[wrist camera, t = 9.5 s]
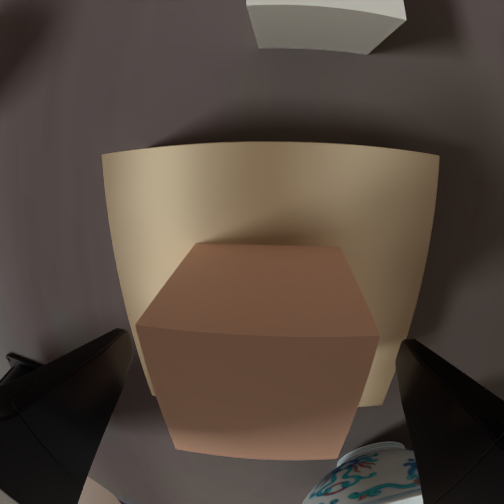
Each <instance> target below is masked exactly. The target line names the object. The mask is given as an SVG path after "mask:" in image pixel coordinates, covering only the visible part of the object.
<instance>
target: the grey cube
mask: <svg viewBox="0 0 504 504" xmlns="http://www.w3.org/2000/svg"><path fill="white" fill-rule="evenodd" d="M246 6H247V9H248V12H249V16H250V19H251V23H252V26H253V30H254V33H255V37H256V41H257V44H258V48H295V49H317V50H330V51H341V52H350V53H358V54H366V55H368V54H369V53H370V52H371V51H372V50H373V49H374V48H375V47H377V46H378V45H379V44H380V43H381V42H382V41H383V40H384V39H386V38H387V37H388V36H389V35H390V34H391V33H392V32H393V31H395V30H396V29H397V28H398V27H399V26H400V25H402V24H403V23H404V22H405V21H406V13H405V7H404V2H403V0H246Z"/></svg>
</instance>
